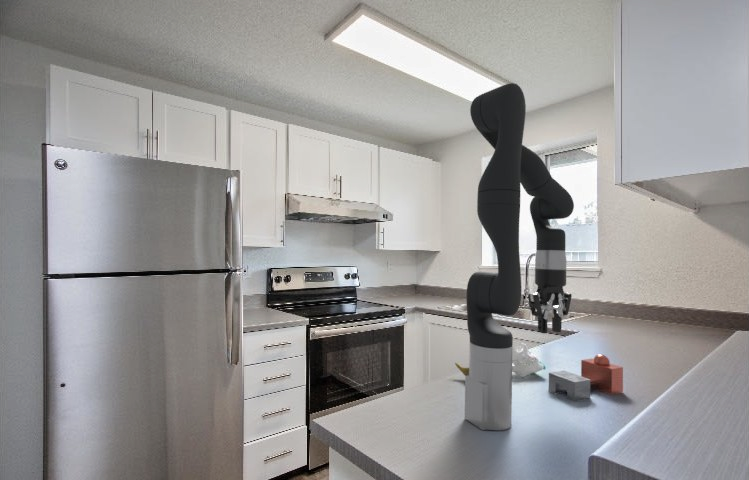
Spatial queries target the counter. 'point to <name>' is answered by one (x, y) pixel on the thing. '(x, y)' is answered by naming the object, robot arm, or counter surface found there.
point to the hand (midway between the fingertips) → (549, 331)
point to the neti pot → (463, 369)
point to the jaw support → (525, 361)
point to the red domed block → (603, 375)
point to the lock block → (570, 385)
